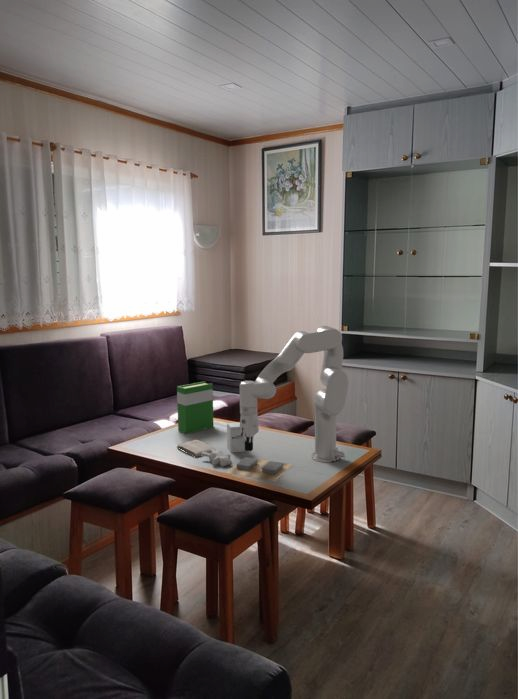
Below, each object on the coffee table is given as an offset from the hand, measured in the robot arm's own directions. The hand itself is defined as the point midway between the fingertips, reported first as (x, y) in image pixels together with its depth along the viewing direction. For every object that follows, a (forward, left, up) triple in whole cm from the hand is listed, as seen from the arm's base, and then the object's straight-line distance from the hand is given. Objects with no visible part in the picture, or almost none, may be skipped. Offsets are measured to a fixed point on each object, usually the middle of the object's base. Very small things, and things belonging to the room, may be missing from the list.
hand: (248, 450), depth 240 cm
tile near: (-12, -3, -5) cm, 14 cm away
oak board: (-6, +2, -7) cm, 10 cm away
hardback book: (+49, -38, -7) cm, 62 cm away
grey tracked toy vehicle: (+32, -8, -8) cm, 34 cm away
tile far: (0, -3, -5) cm, 6 cm away
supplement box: (+14, -16, -7) cm, 22 cm away
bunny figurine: (+14, +2, -7) cm, 16 cm away
